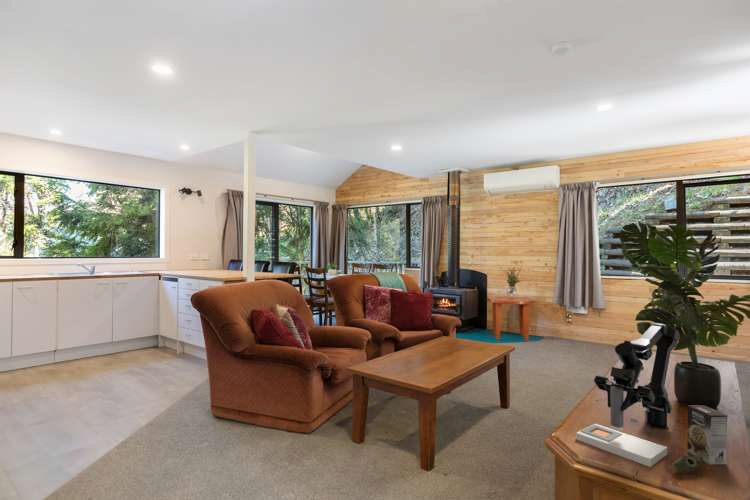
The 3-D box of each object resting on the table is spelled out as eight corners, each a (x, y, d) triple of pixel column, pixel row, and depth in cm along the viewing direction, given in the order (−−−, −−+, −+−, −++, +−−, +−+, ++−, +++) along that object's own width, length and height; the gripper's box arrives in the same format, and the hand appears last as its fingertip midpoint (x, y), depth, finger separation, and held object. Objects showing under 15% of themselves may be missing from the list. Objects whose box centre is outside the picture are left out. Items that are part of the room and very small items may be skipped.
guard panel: (576, 439, 154) (576, 431, 154) (594, 430, 162) (594, 422, 162) (650, 467, 135) (650, 458, 135) (667, 454, 143) (667, 446, 143)
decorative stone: (702, 483, 126) (703, 466, 126) (671, 474, 130) (671, 458, 130) (702, 468, 134) (703, 452, 134) (673, 460, 139) (673, 445, 139)
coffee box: (686, 451, 145) (686, 404, 145) (703, 451, 146) (704, 404, 146) (709, 465, 136) (709, 415, 136) (727, 464, 137) (728, 414, 137)
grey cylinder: (623, 426, 150) (623, 387, 149) (623, 431, 146) (623, 390, 146) (610, 424, 152) (610, 385, 151) (610, 428, 148) (610, 389, 148)
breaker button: (591, 438, 154) (591, 432, 154) (597, 434, 157) (597, 429, 157) (604, 443, 150) (604, 437, 150) (610, 439, 153) (610, 434, 153)
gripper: (596, 353, 159) (580, 388, 152) (651, 364, 143) (636, 403, 137) (606, 371, 163) (591, 405, 157) (661, 383, 148) (647, 422, 142)
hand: (615, 408), depth 148 cm, fingers closed on grey cylinder, 4 cm apart
